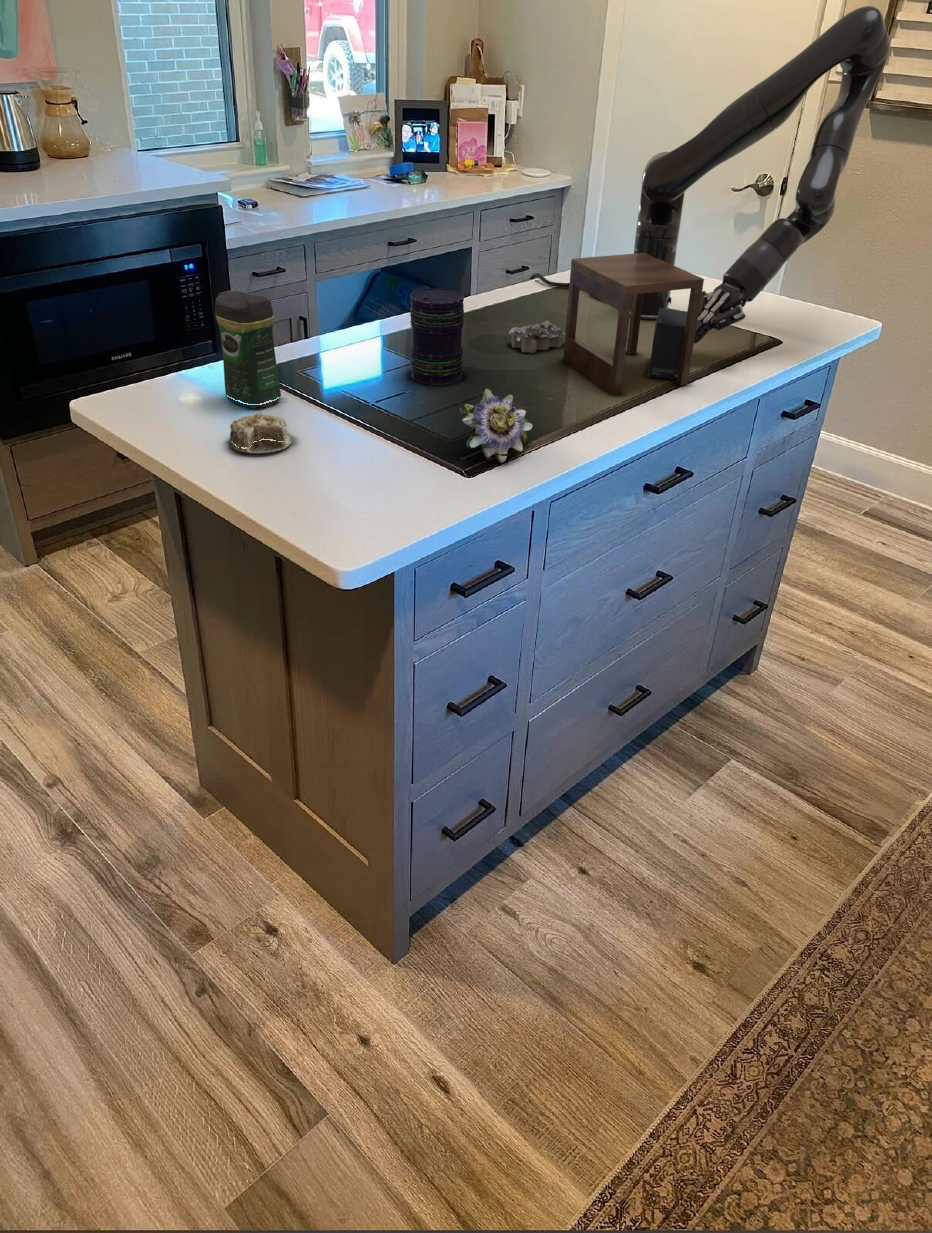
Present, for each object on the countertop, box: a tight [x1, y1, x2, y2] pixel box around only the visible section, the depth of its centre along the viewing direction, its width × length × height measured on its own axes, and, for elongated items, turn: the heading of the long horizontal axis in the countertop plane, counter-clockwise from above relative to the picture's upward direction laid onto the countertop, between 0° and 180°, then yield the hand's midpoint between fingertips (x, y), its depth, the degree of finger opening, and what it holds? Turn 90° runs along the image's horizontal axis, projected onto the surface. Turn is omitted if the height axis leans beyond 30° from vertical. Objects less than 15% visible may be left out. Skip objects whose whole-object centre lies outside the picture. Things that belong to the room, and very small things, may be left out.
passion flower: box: [458, 388, 534, 464], centre depth 149 cm, size 11×11×12 cm
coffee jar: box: [214, 288, 282, 409], centre depth 162 cm, size 10×8×19 cm
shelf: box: [562, 253, 705, 396], centre depth 178 cm, size 20×16×20 cm
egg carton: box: [508, 320, 566, 354], centre depth 194 cm, size 11×8×4 cm
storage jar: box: [409, 287, 465, 386], centre depth 175 cm, size 10×10×15 cm
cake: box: [228, 412, 293, 454], centre depth 150 cm, size 10×10×5 cm
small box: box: [647, 308, 687, 381], centre depth 182 cm, size 11×6×10 cm, turn 166°
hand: (690, 340), depth 185 cm, fingers closed
